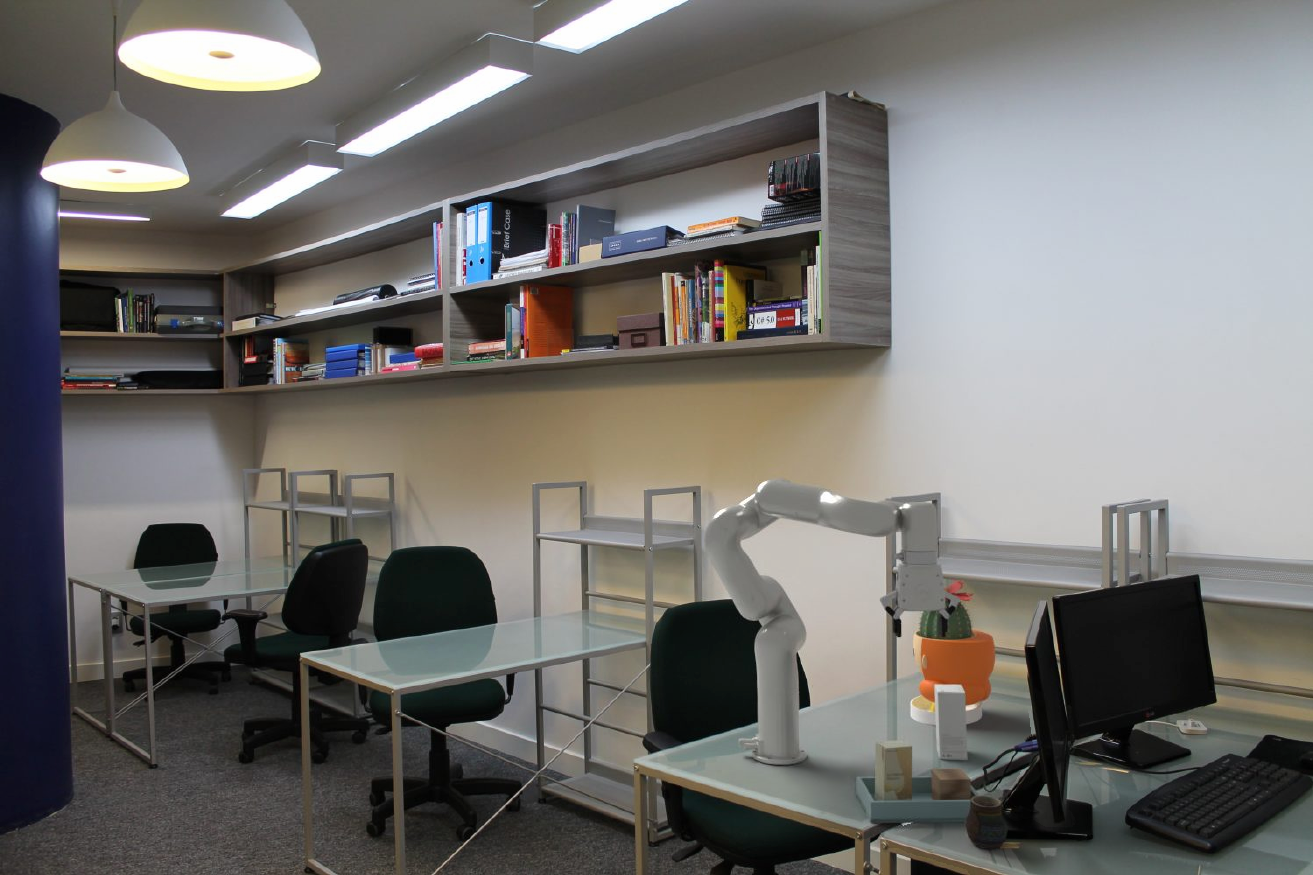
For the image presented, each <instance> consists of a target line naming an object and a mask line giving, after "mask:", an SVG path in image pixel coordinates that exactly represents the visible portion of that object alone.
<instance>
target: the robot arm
mask: <svg viewBox="0 0 1313 875" xmlns="http://www.w3.org/2000/svg"><path fill="white" fill-rule="evenodd" d="M780 519H785V520H791V521H796V522H800V523H806V524H810V525H811V524H812V525H817V526H820V527H824V528H829V529H832V530H837V531H840V532H841V531H842V532H844V533H850V534H855V535H861V536H867V537H873V538H883V537H887V536H889V535H891V534H893V533H894V534H895V533H901V534H900V535H901V537H900V538H901V549H900V552H897V553H894V559H895V560H898V561H900V562H901V563H899V564H898V567H897V572H896V579H895V590H893V591H891V592H889V593H888V594H885V595H883V596H881V597H880V598H879V601H880V603H881V605H882V606H883V608H884V611H885V612H886V613H887V614H888V615H890V617H891V618H892V620H891V621H892V622H891V623H892V633H893V634H894V636H896V637H897V638H902V619H901V618H900V617H901V616H902V614H904V612H923V611H938V612H939V614H940V616H939V617H938V634H939V635H941V636H942V637H945V636H946V634H945V632H947V631H948V623H947V619H948V618H949V616H950V615H951V614H952V613H953V612H954V611H955V609H956V607H957V605H958V603H959V602H961V600H960V599H959V598H958V597H956V596H954V595H952V594H950V593H948V592H946V591H945V590H944V588H945V582H944V581H945V580H944V574H943V569H942V566H941V564H938V557H937V555H938V552H937V551H938V544H937V536H938V535H937V508H936V505H934V504H933V503H932V502H926V501H924V502H923V501H911V502H902V501H901V502H900V501H894V500H886V499H885V500H878V501H876V502H873V501H865V500H862V499H855V498H850V497H847V496H842V495H840V494H839V495H838V494H837V493H835V492H833V491H832V490H830V489H827V488H824V487H819V486H812V485H806V484H798V483H795V482H791V481H790V480H787V479H785V478H773V479H768V480H765V481H763V482H761V483H760V484H759V485H758V486H757V487H756V490H755V492H754V494H752V495H751V496H749V497H747V498H746V499H745V500H743V501H742V502H740V503H739V504H735V505H731V506H727V507H724V508H722V509H720V510H718V511H717V512H716V513H715V514H714V515H713V516H712V517H711V519H710V520H709V522H708V524H707V526H706V529H705V532H704V549H705V552H706V554H707V557H708V560H709V562H710V563H711V565H712V566H713V568H714V570H715V572H716V573H717V575H718V577H719V578H720V580H721V582H722V584H723V586H724V588H725V589H726V591H727V593H728V595H729V597H730V598H731V600H732V601H733V604H734V606H735V608H736V609H737V611H738V613H739V614H740V615H741V616H742V617H743V618H744V619H746V620H748V621H753V622H754V621H759V623H760V625H761V627H760V629H759V630H758V632H757V633H756V636H755V639H754V655H755V662H756V674H757V675H756V676H757V678H756V679H757V681H756V684H757V685H756V686H757V724H758V725H757V727H758V728H757V731H758V732H757V733H755V736H752V737H751V738H738V748H744V749H745V750H751V756H752V758H753V759H754V760H756V761H758V762H760V763H763V764H769V765H776V766H777V765H778V766H779V765H780V766H782V765H783V766H784V765H794V764H795V765H796V764H798V763H799V764H800V763H801V762H803V761H804V760H805V759H807V751H806V750H805V749H804V748H803V747H801V746H800V695H799V694H800V691H799V688H800V687H799V684H800V683H799V670H798V663H797V662H798V661H797V653H798V652H799V651H800V650H802V648H803V647H804V645H805V643H806V640H807V629H806V626H805V623H804V621H803V620H802V617H801V616H800V614H799V613H798V611H797V609H796V608H795V606H794V605H793V603H792V601H791V600H790V598H789V596H788V594H787V592H786V590H785V589H784V587H783V586H782V585H781V584H780V583H779V582H778V581H777V580H776V578H773V577H771V576H769V575H765V574H764V575H763V574H760V573H759V572H758V570H757V569H756V567H755V565H754V563H753V560H752V559H751V558H750V556H749V555H748V554H747V553H746V551H745V550H744V549H743V547H742V545H741V542H742V541H743V540H747V539H749V538H752V537H754V536H755V535H757V534H758V533H760V532H761V531H763V530H764V529H766V528H767V527H769V526H770V525H772V524H774V523H775V522H776V521H778V520H780ZM945 597H946V598H948V599H950V600H951V602H950V605H949V606H948V607H947V608H946V609H944V608H945ZM894 599H895V600H894ZM893 600H894V601H895V607H894V608H892V607H891V606H890V603H889V602H891V601H893Z"/></svg>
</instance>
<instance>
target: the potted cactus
mask: <svg viewBox="0 0 1313 875" xmlns="http://www.w3.org/2000/svg"><path fill="white" fill-rule="evenodd" d="M963 585H964V582H962V581H961V580H954V581H953V583H951V584H950V585H949V586H946V587H944V590H945V591H946V592H948V593H950V594H952V595H954V596H956V597H958V598H959V599H960V601H959V603H958V605H957V607H956V609H955V611H954V612H953V613H952V614H951V615H950V616H949V618H948V619H947V623H948V631H947V632H945V634H946V636H945V637H942V636H941V635H939V634H938V617H939V616H940V614H939V612H938V611H922V612H919V614H920V615H921V617H919V616H918V622H917V625H919V627H918V629H917V630H916V631H914V634H913V638H912V639H913V640H912V641H913V642H912V651H913V657H914V660H915V663H916V665H917V668H918V670H919V672H920V674H922V676H923V678H924V679H923V680H922V681H921V682H920V683H919V686H918V690H919V692H920V694H921V695H919V696H918V695H917V696H916V697H914V698H912V699H911V700H910V704H909V705H910V718H911V719H912V720H914V721H915V722H918V723H922V724H925V725H931V726H936V718H935V689H934V686H935V685H962V687H963V690H964V692H965V704H966V725H969V724H972V723H973V724H974V723H976V722H977V721H979V720H981V719H982V717H983V701H986V700H988V698H989V697H990V696H991V693H992V685H991V682H990V677H991V675H992V673H993V671H994V667H995V663H996V648H995V641H994V637H993V635H990V634H989V633H986V632H983V631H981V630H980V631H979V630H975V629H973V622H972V618H971V617H972V616H971V614H970V612H969V609H968V608H966V603H965V602H967V601H970V600H972V596H973V595H974V594H973V592H972V593H968V594H967V592H959V591H960V590H961V589H962V588H963ZM950 602H951V600H950V599H948V598H946V597H945V608H944V609H946V608H947V607H948V606H949V605H950Z"/></svg>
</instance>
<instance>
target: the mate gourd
mask: <svg viewBox="0 0 1313 875" xmlns="http://www.w3.org/2000/svg"><path fill="white" fill-rule="evenodd" d="M970 801H971V802H970V811H969V814H968V816H967V819H966V822H965V828H966V833H967V837H968V839H969V840H970V842H972V843H973V844H974V845H976V846H977V847H979V848H982V849H992V850H993V849H997V848H999V847H1001V846H1002V845H1003V844H1004V843H1005V842H1006V838H1007V835H1008V824H1007V820H1006V817H1005V814H1004V812H1003V802H1002V800H1000V799H998V798H997V797H993V796H990V795H983V794H982V795H981V794H980V796H974V797H972V798H971V800H970Z"/></svg>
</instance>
